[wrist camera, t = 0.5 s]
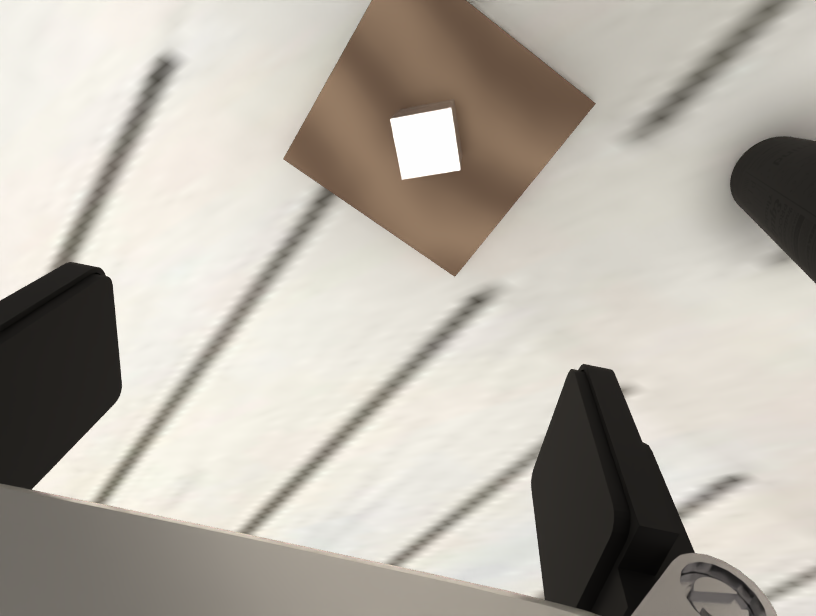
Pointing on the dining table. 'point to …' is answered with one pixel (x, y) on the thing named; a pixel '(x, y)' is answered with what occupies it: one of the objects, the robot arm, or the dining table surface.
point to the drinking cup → (781, 195)
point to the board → (424, 84)
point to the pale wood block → (427, 139)
